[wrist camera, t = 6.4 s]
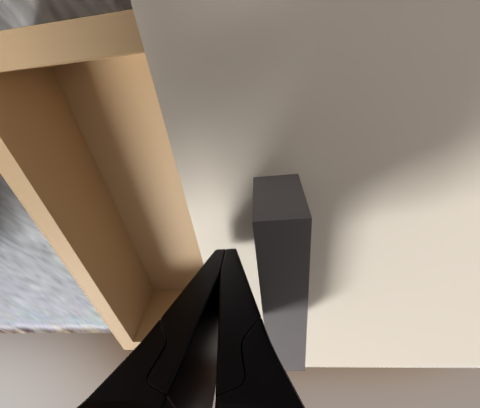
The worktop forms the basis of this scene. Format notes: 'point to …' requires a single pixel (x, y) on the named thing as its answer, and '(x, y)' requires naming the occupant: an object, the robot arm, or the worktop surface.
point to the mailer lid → (333, 166)
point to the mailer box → (97, 165)
